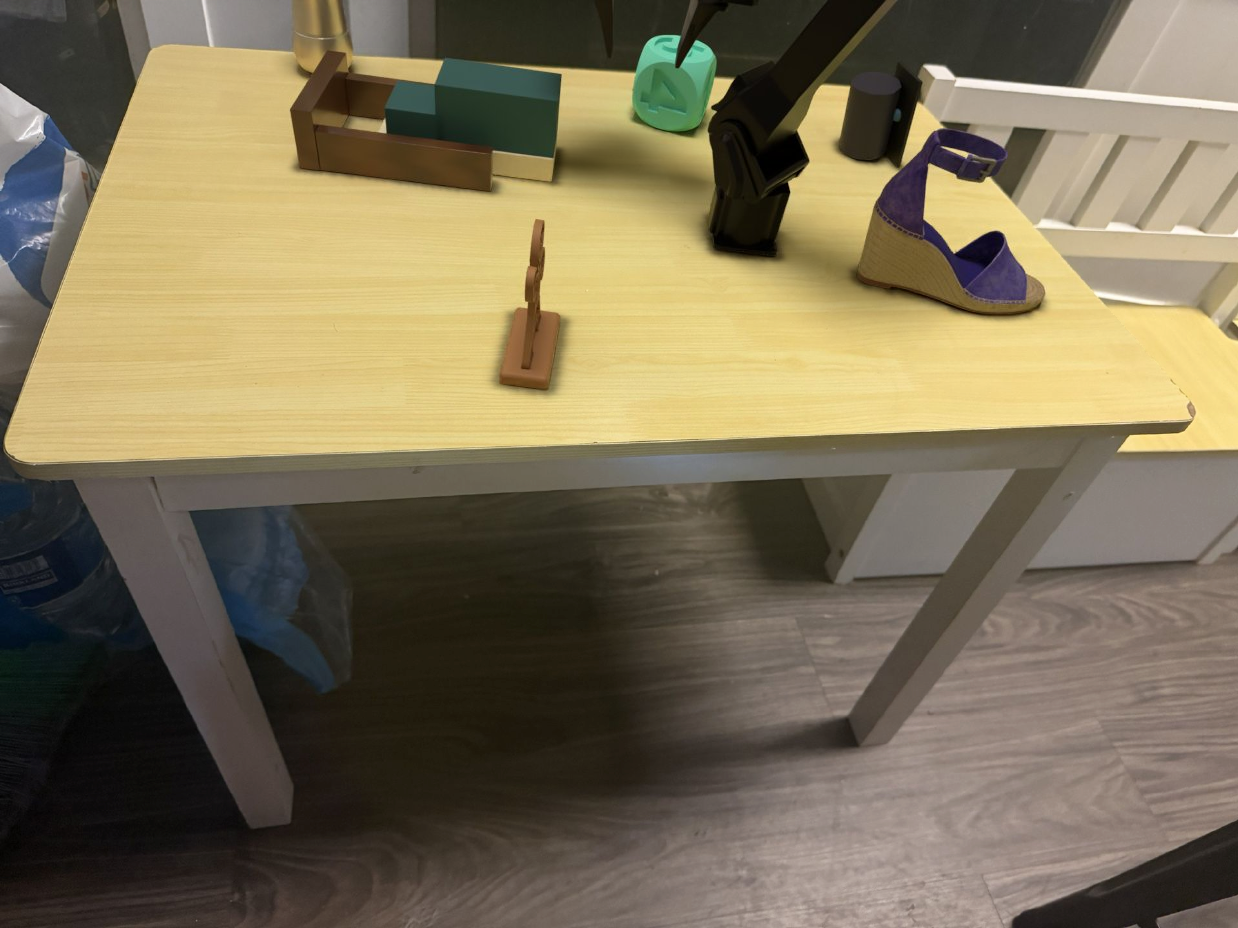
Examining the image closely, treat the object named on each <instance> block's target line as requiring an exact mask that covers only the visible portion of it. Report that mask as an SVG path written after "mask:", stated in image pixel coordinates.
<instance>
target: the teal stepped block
mask: <svg viewBox="0 0 1238 928" xmlns="http://www.w3.org/2000/svg"><path fill="white" fill-rule="evenodd" d="M562 76H563V75H562V73H558V72H553V71H552V72H551V71H544V70H536V69H531V68H522V67H516V66H515V67H514V66H508V65H501V64H493V63H485V62H479V61H473V60H464V59H458V58H450V57H444V58H443V61H442V64H441V67H440V69H439V71H438V74H437V76H436V79H435V82H434V83H433V84H434V85H426V84H419V83H412V82H404V81H397V82H396V84H395V86H394V89H393V91H392V93H391V95H390V97H389V99H388V102H387V104H386V106H385V119H383V120H382V123H381V126H380V128H379V130H378V132H380V133H388V134H395V135H403V136H411V137H418V138H426V139H434V140H441V141H449V142H457V143H465V144H472V145H480V146H488V147H493V175H495V176H503V177H511V178H517V179H527V180H533V181H534V180H535V181H541V182H542V181H543V182H550V183H551V182H552V181H553V175H554V169H555V168H554V167H555V162H556V161H555V160H556V154H557V145H558V143H557V142H558V129H559V116H560V103H561V90H562V89H561V88H562V78H563V77H562Z"/></svg>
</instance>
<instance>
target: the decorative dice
mask: <svg viewBox="0 0 1238 928" xmlns="http://www.w3.org/2000/svg"><path fill="white" fill-rule="evenodd" d="M680 37H681V35H675V34H662V35H656V36H654V37H652V38H650V39H649V40H648V41H647V42H646V43H645V44H644V46H643V49H642V52H641V54H640V57H639V59H638V62H637V65H636V70H635V75H634V80H633V86H632V94H631V95H632V96H631V99H632V100H631V103H632V107H633V109H634V111H635V113H636V114H637V116H638V117H639V118H640V120H641V121H643V122H644V123H645V124H647V125H648V126H651V127H653V128H656V129H658V130H662V131H669V132H687V131H691V130H693V129H695V128H697V127H698V126H700V124H701V123H702V121H703V118H704V116H705V113H706V110H707V107H708V105H709V101H710V97H711V94H712V90H713V85H714V81H715V76H716V71H717V57H716V55H715V54H714V52H713V50H712V49H711V47H709V46H708V45H707V44H705V43H703V42H701V41H699V40H698V39H696V41H695V43H694V44H693V46H692V48H691V49H690V51H689V53H688V54H687V56H686V58H685V59H684V61H683V63H682V64H681V66H680V68H679V69H677V68H675V59H676V53H677V47H678V44H679V40H680Z"/></svg>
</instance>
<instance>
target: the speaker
mask: <svg viewBox="0 0 1238 928" xmlns="http://www.w3.org/2000/svg"><path fill="white" fill-rule="evenodd" d="M923 83H924V82H923V80H921V79H920V78H919V77H918V76H917V75H916V74H915V73H914V72H913V71H912V70H911V69H910V68H909V67H907V66H906V64H904V63H903V62H902V61H897V64H896V68H895V72H894V75H891V74H889V73H885V72H883V71H864V72H860V73H858V74H857V75H855V76H854V77H853V78H851V81H850V86H849V91H848V96H847V100H846V106H845V107H846V108H845V111H844V116H843V122H842V126H841V132H840V135H839V142H838V145H839V151H840V152H841V153H842V154H843V155H844V156H848V157H850V158H853V159H856V160H871V161H873V160H876V159H879V158H880V157H881V156H883V155H885V156H886V157H887V158H888V159H889V160H890V161H891V163H892V164H893V165H894V166H895V167H896V168H900V167H901V166H902V162H903V157H904V154H905V149H906V146H907V142H908V139H909V136H910V132H911V127H912V123H913V120H914V116H915V114H916V109H917V106H918V101H919V99H920V98H919V97H920V95H921V90H922V87H923Z"/></svg>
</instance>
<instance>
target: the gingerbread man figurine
mask: <svg viewBox="0 0 1238 928" xmlns="http://www.w3.org/2000/svg"><path fill="white" fill-rule="evenodd" d="M545 228H546V227H545V220H544V219H538V218H535V220H534V223H533V228H532V234H531V242H530V248H529V249H530V251H529V265H528V266H527V268H526V274H525V282H524V301H525V302H526V303H527V307H520V306H519V307H516V308H515V310H514V314H513V318H512V323H511V327H510V331H509V334H508V339H507V342H506V347H505V351H504V355H503V359H502V363H501V366H500V372H499V383H500V384H502V385H509V386H516V387H522V388H531V389H538V390H547V389H549V385H550V380H551V379H550V378H551V375H552V374H551V373H552V368H553V362H554V357H555V352H556V347H557V340H558V335H559V330H560V324H561V315H560V313H558V312H556V311H555V312H554V311H549V310H541V283H542V282H541V281H543V279H544V272H545V263H546V261H545V260H546V247H545V246H544V241H545Z"/></svg>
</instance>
